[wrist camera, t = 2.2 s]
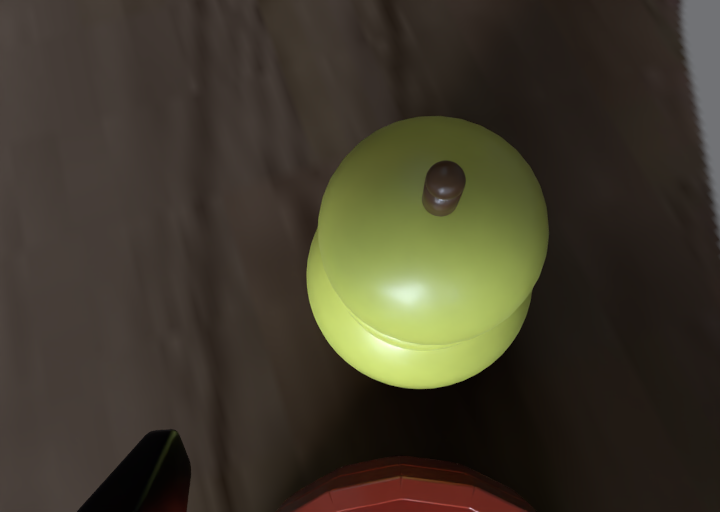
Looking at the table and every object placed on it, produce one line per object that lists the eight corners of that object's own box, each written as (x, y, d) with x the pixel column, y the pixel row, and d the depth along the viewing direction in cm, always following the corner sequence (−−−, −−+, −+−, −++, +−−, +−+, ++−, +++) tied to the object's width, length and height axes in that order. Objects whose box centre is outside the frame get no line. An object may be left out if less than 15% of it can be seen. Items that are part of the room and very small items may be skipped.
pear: (542, 326, 20) (782, 257, 8) (378, 421, 20) (359, 504, 7) (445, 171, 21) (519, -98, 9) (289, 257, 21) (148, 99, 9)
